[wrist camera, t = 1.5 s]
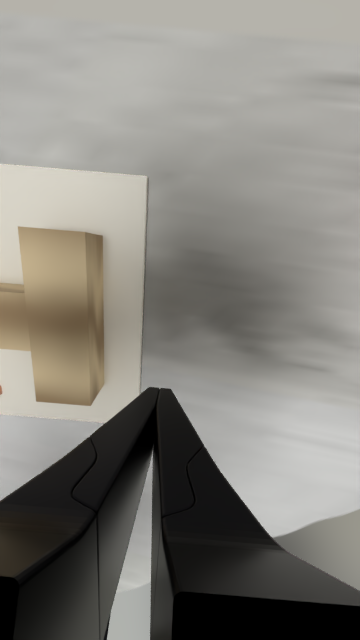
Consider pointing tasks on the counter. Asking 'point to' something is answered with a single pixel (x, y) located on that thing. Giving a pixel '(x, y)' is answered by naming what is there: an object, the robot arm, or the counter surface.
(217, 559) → the robot arm
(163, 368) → the counter surface
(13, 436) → the counter surface
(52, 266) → the t block
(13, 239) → the board
